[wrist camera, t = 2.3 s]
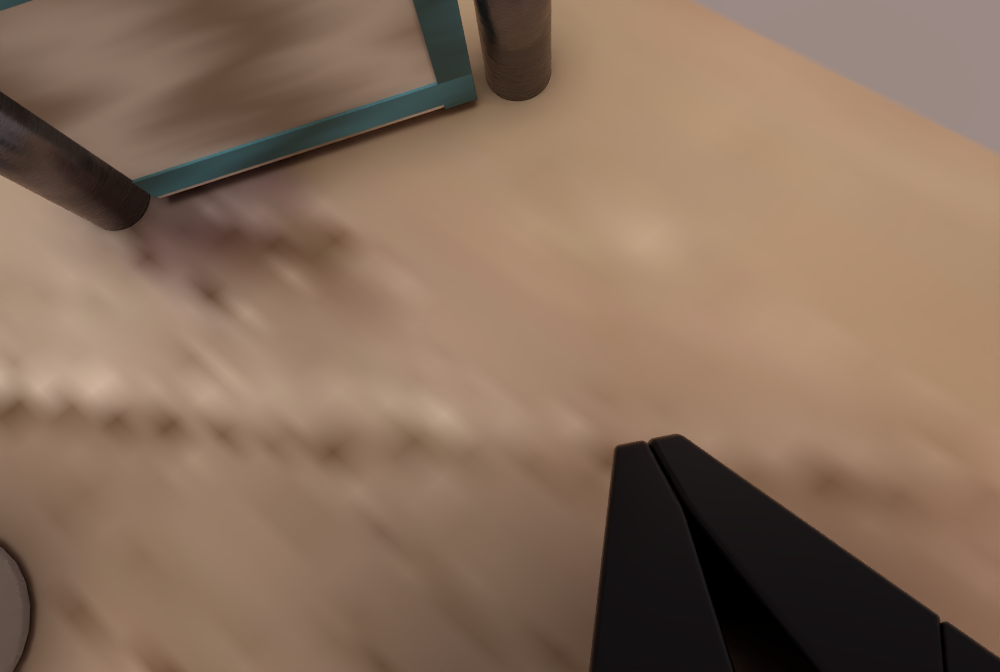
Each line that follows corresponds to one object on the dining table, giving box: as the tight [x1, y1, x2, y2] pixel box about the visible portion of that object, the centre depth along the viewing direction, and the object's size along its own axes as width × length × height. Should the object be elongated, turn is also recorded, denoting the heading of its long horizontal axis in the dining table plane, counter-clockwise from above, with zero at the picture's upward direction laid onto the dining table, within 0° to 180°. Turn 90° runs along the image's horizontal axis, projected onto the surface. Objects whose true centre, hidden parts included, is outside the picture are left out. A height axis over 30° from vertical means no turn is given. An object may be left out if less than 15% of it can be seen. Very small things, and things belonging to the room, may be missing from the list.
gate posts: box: [0, 0, 551, 230], centre depth 19 cm, size 18×2×8 cm, turn 107°
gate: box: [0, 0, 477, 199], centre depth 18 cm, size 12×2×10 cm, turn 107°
